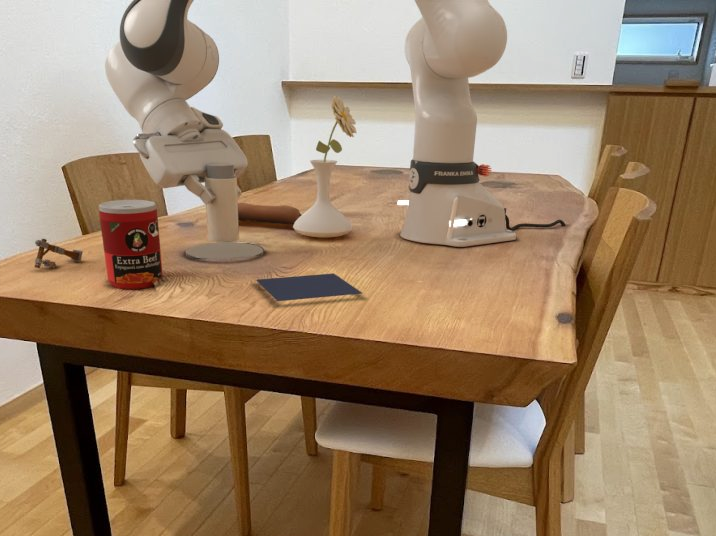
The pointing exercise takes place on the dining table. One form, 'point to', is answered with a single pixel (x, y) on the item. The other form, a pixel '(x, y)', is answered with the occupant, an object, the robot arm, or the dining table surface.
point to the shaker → (222, 203)
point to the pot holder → (307, 287)
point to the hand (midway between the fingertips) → (224, 199)
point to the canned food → (131, 243)
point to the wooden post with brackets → (42, 244)
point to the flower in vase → (327, 185)
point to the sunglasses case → (268, 213)
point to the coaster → (223, 250)
